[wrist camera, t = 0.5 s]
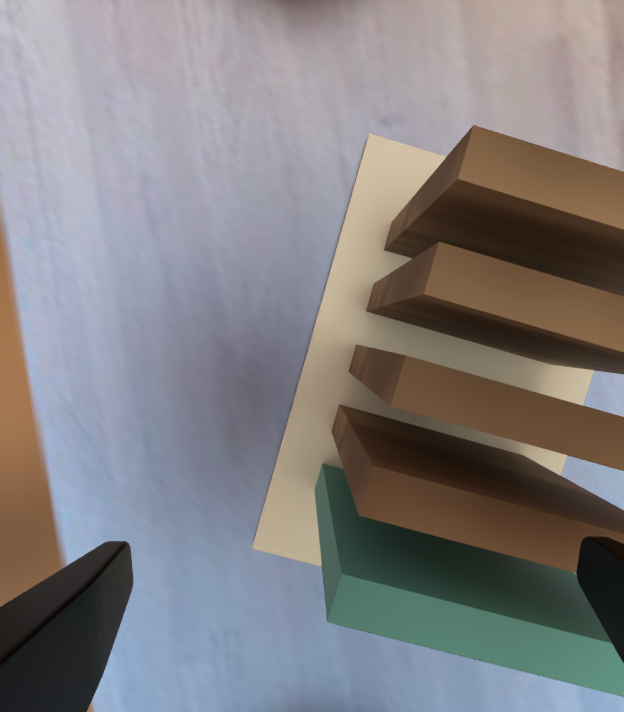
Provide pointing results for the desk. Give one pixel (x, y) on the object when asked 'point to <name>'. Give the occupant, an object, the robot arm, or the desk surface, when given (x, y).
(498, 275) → the domino
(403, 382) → the brown flat square block
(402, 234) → the domino
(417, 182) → the board
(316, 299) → the desk surface
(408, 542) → the domino
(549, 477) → the domino
